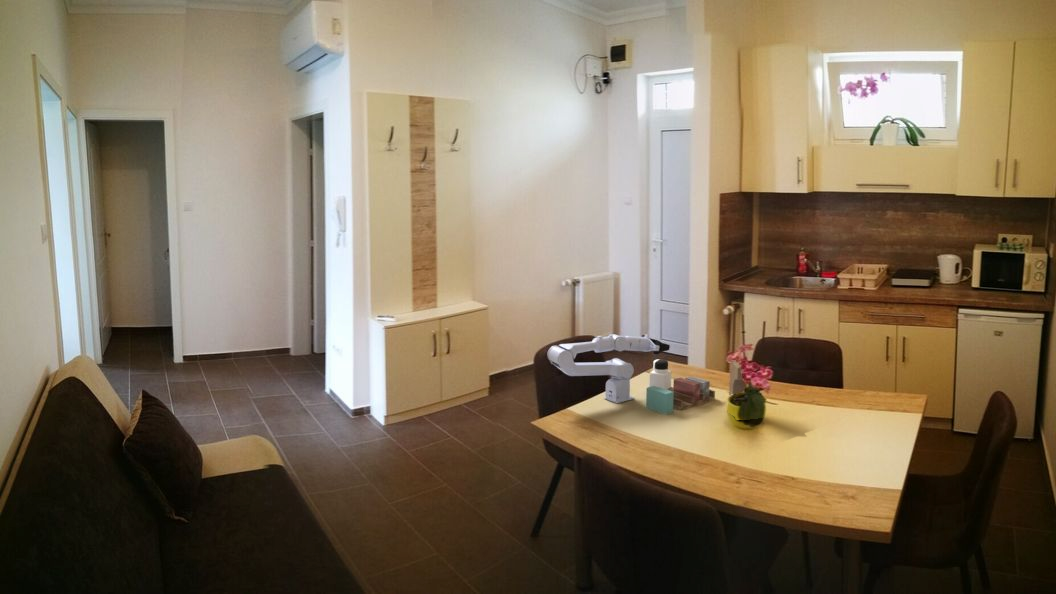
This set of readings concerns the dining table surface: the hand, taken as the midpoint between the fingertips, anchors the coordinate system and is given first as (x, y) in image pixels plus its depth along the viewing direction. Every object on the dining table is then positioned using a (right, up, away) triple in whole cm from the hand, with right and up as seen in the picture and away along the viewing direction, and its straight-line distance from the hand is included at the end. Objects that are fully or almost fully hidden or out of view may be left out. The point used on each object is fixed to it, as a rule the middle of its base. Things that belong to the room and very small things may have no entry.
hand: (663, 345), depth 290 cm
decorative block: (+23, -25, -26) cm, 43 cm away
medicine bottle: (0, -19, +9) cm, 21 cm away
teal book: (-5, -23, -19) cm, 30 cm away
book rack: (+7, -21, -8) cm, 24 cm away
